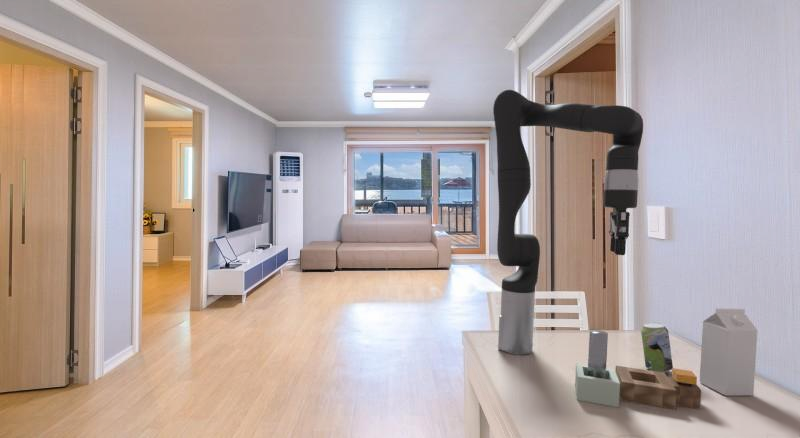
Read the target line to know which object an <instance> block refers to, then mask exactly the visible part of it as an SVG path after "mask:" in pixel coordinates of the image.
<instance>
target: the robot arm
mask: <svg viewBox="0 0 800 438" xmlns="http://www.w3.org/2000/svg"><path fill="white" fill-rule="evenodd" d="M492 107H493V119H494V120H493V121H494V127H495V128H494V129H495V135H496V154H497V155H496V156H497V157H496V158H497V190H498V191H497V192H498V222H497V223H498V225H497V244H496V245H497V246H496V249H497V258H498V261H499V263H500V264H501V265H502V266H505V267H518V269H517V270H516V271H515V272H514V273H512V274H510V275H508V276H505V277H504V278H503V279H502V280H501V293H500V294H501V297H500V315H499V319H498V338H497V339H498V340H497V350H499V351H503V352H506V353H509V354H513V355H528V354H531V353H532V352H533V346H534V343H533V342H534V341H533V340H534V320H535V300H536V299H535V298H536V286H537V284H538V278H539V268H540V267H539V265H540V259H541V258H540V257H541V245H540V241H539V239H538V238H537V236H535V235H534V234H531V233H516V232H515V226H516V224H515V223H516V218H517V215H518V213H519V211H520V209H521V207H522V205H523V204H524V203H525V200H527V197H528V196H529V194H530V190H531V185H532V184H531V166H530V161H529V157H528V154H527V151H526V149H525V146H524V143H523V139H522V135H521V127H548V128H557V129H563V130H564V129H565V130H569V131H574V132H575V131H577V132H583V133H594V132H597V133H603V134H609V135H612V143H611V148H609V149H608V151H607V154H606V165H605V175H604V182H603V200H602V201H603V203H602V206H603V207H604V208H611V209H612V211H610V213H609V218H608V219H609V226H608V228H609V231H608V233H609V237H610V246H609V249H610V250H609V251H610V252H612V253H614V254H615V255H616V256H625V255H626V247H627V246H626V245H627V239H628V238H629V236H630V233H629V231H630V230H629V229H630V228H629V227H630V215H631V214H630V212H629V211H627V209H636V208H637V207H638V194H639V171H638V170H639V151H640V147H641V143H642V139H643V138H642V137H643V132H644V119H643V118H642V115H641V114H640V113H639V112H637V111H635V109H633V108H631V107H628V106H626V105H614V104H612V105H610V104H607V105H596V104H587V103H579V102H577V103H575V102H573V103H572V102H567V103H560V104H559V103H558V104H543V103H539V102H537V101H536V102H535V101H532V100H530V99H528V98H527V97H525V96H524V95H523V94H521V93H520V92H519V91H516V90H513V89H504V90H502V91H501V92H500V93H498V94H497V96H496V98H495V99H494V102H493V106H492Z"/></svg>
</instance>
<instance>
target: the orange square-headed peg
mask: <svg viewBox="0 0 800 438" xmlns="http://www.w3.org/2000/svg"><path fill="white" fill-rule="evenodd" d="M671 377H672V378H674V379H675V380H676V382H678V384H679V385H685V386H689V384H695V385H696V384H697V383H698V382H697V381H698V377H697V375H695V373H694V371H692V370H687V369H682V368H675V367H673V368H672V369H671ZM697 385H698V384H697Z"/></svg>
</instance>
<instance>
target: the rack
mask: <svg viewBox="0 0 800 438" xmlns="http://www.w3.org/2000/svg"><path fill="white" fill-rule="evenodd" d="M587 375H588V364H580V363H576V364H575V376H574V377H575V378H574V381H575V382H574V388H575V397H576V400H577V401H581V402H588V403H593V404H598V405H604V406H608V407H615V408H619V406H620V395H619V391H620V382H619V380H618V377H617V375H616V372H615V369H613V368H607V367H606V379H603V378H596V377H590V376H587Z"/></svg>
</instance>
